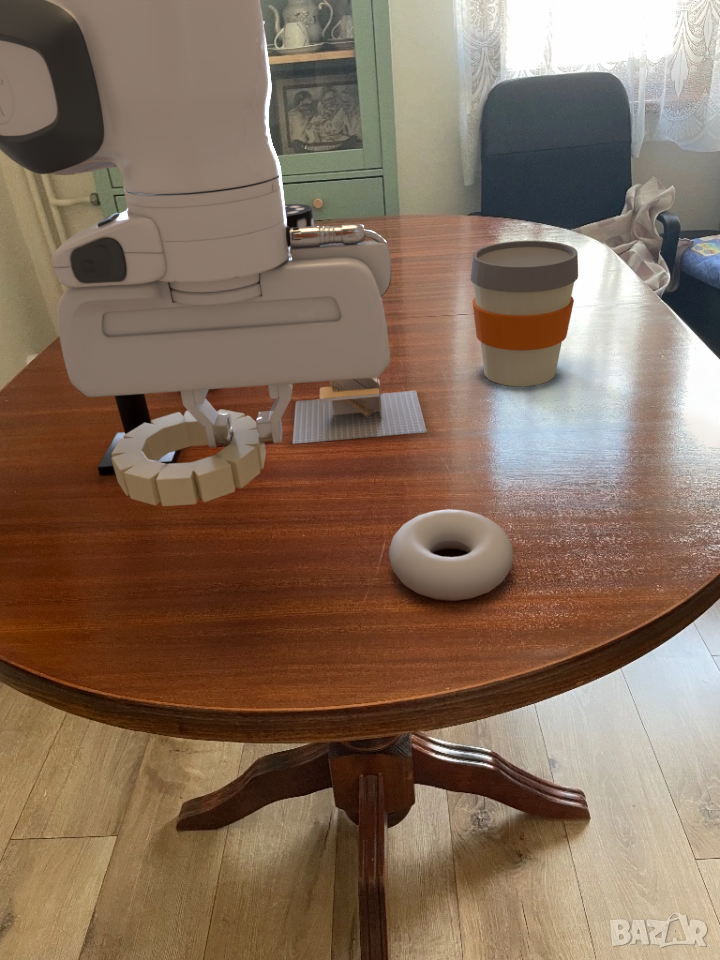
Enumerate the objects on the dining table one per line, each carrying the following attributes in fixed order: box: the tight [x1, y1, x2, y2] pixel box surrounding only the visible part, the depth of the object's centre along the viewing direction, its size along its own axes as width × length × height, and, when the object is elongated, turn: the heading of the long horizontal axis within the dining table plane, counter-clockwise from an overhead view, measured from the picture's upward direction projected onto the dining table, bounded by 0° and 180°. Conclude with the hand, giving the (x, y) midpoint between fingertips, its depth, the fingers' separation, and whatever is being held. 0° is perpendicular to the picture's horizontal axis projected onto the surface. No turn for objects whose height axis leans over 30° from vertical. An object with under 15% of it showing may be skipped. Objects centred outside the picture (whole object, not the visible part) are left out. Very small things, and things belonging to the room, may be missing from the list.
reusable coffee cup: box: [470, 240, 579, 387], centre depth 89 cm, size 13×13×15 cm
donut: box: [388, 509, 514, 602], centre depth 59 cm, size 10×4×10 cm
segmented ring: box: [111, 408, 267, 507], centre depth 50 cm, size 10×10×2 cm
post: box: [97, 394, 182, 476], centre depth 77 cm, size 8×8×15 cm
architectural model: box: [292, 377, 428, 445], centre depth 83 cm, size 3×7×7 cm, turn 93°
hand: (246, 441), depth 50 cm, fingers closed on segmented ring, 2 cm apart
